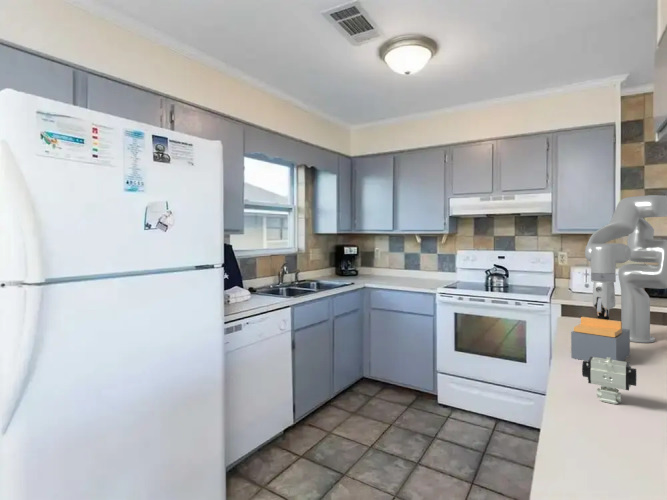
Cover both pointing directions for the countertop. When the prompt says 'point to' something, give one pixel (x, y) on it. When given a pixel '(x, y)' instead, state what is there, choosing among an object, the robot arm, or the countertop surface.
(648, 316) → the robot arm
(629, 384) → the pneumatic valve
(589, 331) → the cover
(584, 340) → the housing
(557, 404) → the countertop surface
